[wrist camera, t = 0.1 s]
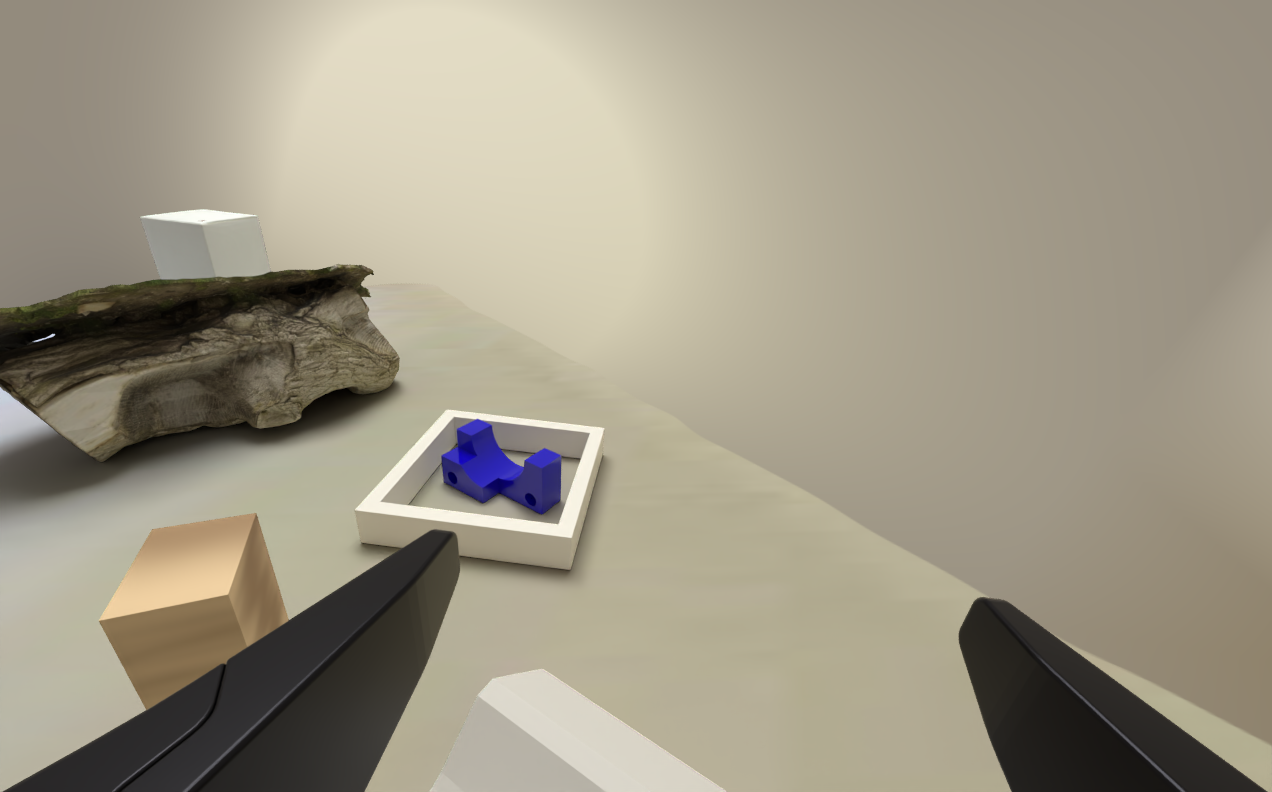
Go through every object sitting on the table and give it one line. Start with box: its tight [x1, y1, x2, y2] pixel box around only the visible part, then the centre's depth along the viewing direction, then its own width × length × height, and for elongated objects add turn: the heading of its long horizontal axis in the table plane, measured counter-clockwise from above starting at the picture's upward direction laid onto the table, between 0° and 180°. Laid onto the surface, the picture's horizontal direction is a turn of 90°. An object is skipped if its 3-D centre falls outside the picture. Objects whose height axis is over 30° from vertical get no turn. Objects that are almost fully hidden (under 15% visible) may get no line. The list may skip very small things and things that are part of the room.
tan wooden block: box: [99, 513, 289, 710], centre depth 19 cm, size 4×3×10 cm
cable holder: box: [441, 419, 561, 515], centre depth 37 cm, size 8×4×4 cm, turn 59°
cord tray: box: [355, 410, 604, 570], centre depth 37 cm, size 13×13×2 cm
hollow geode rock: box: [0, 264, 400, 462], centre depth 40 cm, size 28×13×15 cm
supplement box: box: [140, 209, 271, 280], centre depth 58 cm, size 7×7×13 cm
